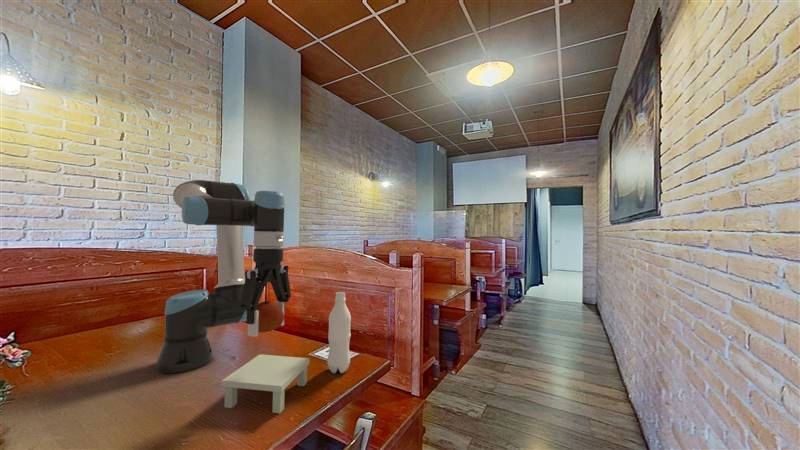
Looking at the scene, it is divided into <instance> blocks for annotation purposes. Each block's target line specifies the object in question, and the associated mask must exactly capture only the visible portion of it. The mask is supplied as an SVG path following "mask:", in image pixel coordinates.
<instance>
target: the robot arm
mask: <svg viewBox="0 0 800 450" xmlns="http://www.w3.org/2000/svg"><path fill="white" fill-rule="evenodd" d="M172 194H173V195H172V197H173V201H174V202H175V204H176V205H177V206H178V207H179V208H181V219H182V222H183V223H184V224H185V225H195V226H204V225H205V226H216V248H217V249H216V252H217V253H216V255H217V277H218V278H217V279H218V281H217V284H216V285H215V286H214V287H213V292H211V293H210V292H209V290H207V289H193V290H188V291H184V292H183V291H182V292H179V293H177V294H174V295H171V296H170V297H169V298H168V299H167V300H166V301H165V309H164V312H163V313H164V315H165V316H164V317H165V319H164V335H163V337H164V338H163V341H164V342H163V345H162V347H161V350H160V352H159V355H158V358H157V360H156V365H155V366H156V367H155V368H156V371H157V372H159V373H163V374H177V373H178V374H179V373H184V372H188V371H192V370H196V369H199V368H201V367H204V366H205V365H208V364H209V363H210V362H211V361H212V360H213V349H212V347H211V344H210V341H209V338H208V329H211V328H216V327H220V326H221V327H222V326H226V325H232V324H239V323H243V322H246V324H247V336H248V337H255V338H257V337H259V332H258V323H259V311H258V310H256V309H257V306H258V304H259V303H260V300H261V298H262V295H263V292H264V289H265V287H266V286H267V285H268V283H270V284H271V286H272V289H273V292H274V296H275V297H276V301H275V302H274V304H276V305H278V306H279V307H280V308H281V309H282V311H283V313H284V314H285V312H286V303H288V302H289V300H290V298H292V297H291V296H292V293H291V288H290V287H291V285H290V280H289V279H290V278H289V266H288V265H285V264H284V265H282V264H281V262H283V260H284V249H283V248H282V247H283V246H284V231H285V229H284V228H285V226H284V225H285V207H286V205H285V196H284V195H285V194H284V193H282V192H281V191H280V192H279V191H274V190H273V191H272V190H259V191H256V192H255V194H254V200H251V197H250V193H249V191H248V189H247V187H246V186H245V185H243V184H241V183H234V182H223V181H214V180H206V179H196V180H195V179H194V180H188V181H185V182H182V183H180V184H178V185H177V186H176V187H175V189H174V190H173V193H172ZM243 227H253V231H254V232H253V247H255V248H253V257H252V258H253V260H252V261H253V262H254V264H255V266H254V269H252V270H251V269H250V270H247V269H246V270H245V260H244V259H245V258H244V244H243V243H244V241H243V239H244V238H243ZM283 326H285V319H284V320H283V322H282V324H281V325H280V326H279V327H283Z"/></svg>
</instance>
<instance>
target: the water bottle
mask: <svg viewBox="0 0 800 450" xmlns="http://www.w3.org/2000/svg"><path fill="white" fill-rule="evenodd" d="M346 300H347V298H346V292H344V291H337V292H335V298H334V305H333V307H332V309H331V311H330V313H329V316H328V335H327V339H328V345H329V346H328V356H327V367H328V368H329V371H330V372H331V374H336V373H337V372H339V373H340V374H344V373H345V372H347V370H348V369H349V367H350V363H351V356H350V340H351V336H352V334H351V320H352V316H351V313H350V310H349V308H348V306H347V304H346Z"/></svg>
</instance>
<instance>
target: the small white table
mask: <svg viewBox="0 0 800 450" xmlns="http://www.w3.org/2000/svg"><path fill="white" fill-rule="evenodd" d="M310 359H311V358H309V357H308V358H306V357H297V356H296V357H295V356H284V355H275V354H274V355H270V354H262V353H261V354H260V353H259V354H258V355H256V356H255V357H254V358H252V359H251V360H250V361H248V362H247V363H245V364H243V365H242V366H240V367H239V368H237V370H235V371H233V372H231V374H229V375H228V376H227V377H225V378H224V379H222V380H221V387H224V408H227V409H233V408H234V407H235V406H236V405H237V403H238V389H244V390H254V391H255V390H256V391H265V392H272V413H274V414H281V413H282V412H283V411H284V410H285V392H286V391H285V390H286V388H287V387H288V386H289V385H290V384H291V383H292V382H293V381H294V380H295V379H296V378H297V380H296V381H297V382H296V386H297V385H298V387H305V385H307V383H308V377H307V376H308V366H309V364H310Z"/></svg>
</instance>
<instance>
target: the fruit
mask: <svg viewBox="0 0 800 450" xmlns="http://www.w3.org/2000/svg"><path fill="white" fill-rule="evenodd" d="M256 310H258V311H259V323H258V333H261V334H262V333H267V332H269V333H270V332H273V331H274V330H276V329H278V328H279V327H281V326H280V325H281V324H282V322H283V320H284V321H285V312H284V313H283V311H282V309H281V308H280V307H279V306H278V305H276V304H275V302H271V301H268V300H264V301H261V302H259V303H258V306H257V309H256Z"/></svg>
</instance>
